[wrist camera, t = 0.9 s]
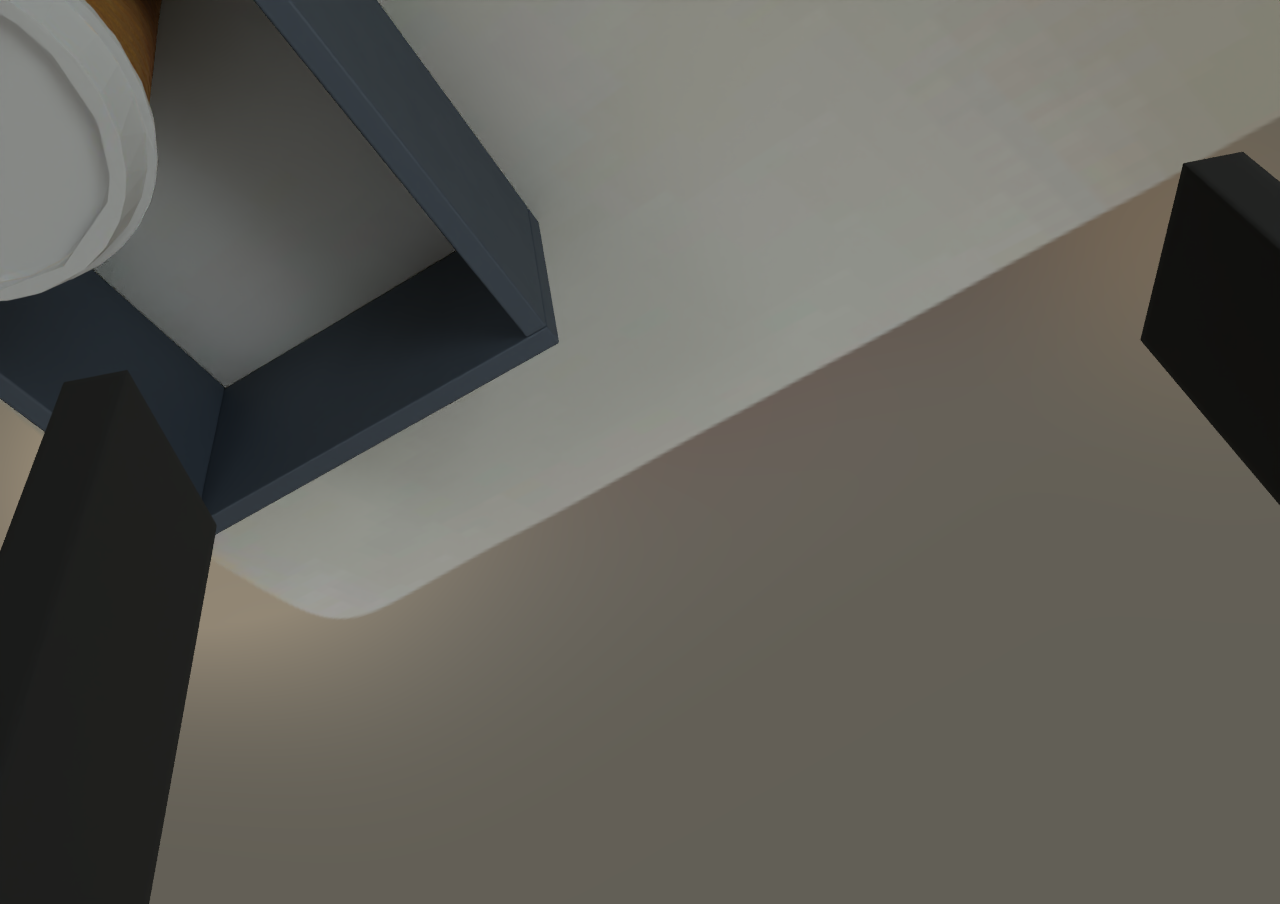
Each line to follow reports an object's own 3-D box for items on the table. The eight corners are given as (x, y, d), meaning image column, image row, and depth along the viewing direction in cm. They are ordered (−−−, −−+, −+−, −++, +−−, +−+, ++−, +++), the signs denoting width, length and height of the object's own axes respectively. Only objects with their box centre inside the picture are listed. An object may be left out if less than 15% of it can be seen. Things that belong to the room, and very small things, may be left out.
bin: (-347, -90, 31) (-526, 9, 25) (61, -435, 28) (-35, -415, 22) (224, 408, 45) (196, 546, 39) (539, 223, 42) (559, 343, 36)
